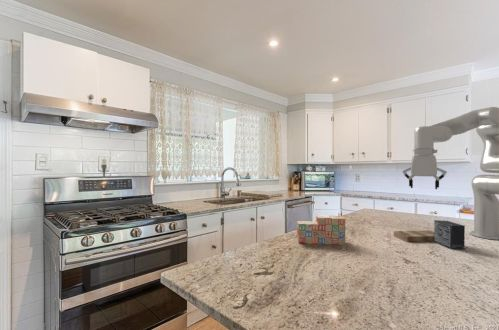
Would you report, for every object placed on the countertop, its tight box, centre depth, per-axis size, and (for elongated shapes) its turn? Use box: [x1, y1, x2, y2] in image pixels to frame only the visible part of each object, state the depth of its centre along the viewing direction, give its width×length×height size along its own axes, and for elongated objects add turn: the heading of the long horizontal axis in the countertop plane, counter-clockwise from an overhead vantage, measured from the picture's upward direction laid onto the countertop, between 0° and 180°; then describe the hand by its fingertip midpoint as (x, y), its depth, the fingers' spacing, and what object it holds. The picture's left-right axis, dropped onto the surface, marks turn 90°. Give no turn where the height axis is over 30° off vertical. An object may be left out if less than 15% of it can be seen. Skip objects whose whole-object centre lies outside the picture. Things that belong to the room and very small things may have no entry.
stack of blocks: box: [296, 214, 346, 246], centre depth 119 cm, size 21×6×12 cm, turn 85°
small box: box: [433, 219, 466, 250], centre depth 114 cm, size 11×6×10 cm, turn 179°
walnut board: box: [393, 230, 435, 243], centre depth 124 cm, size 20×10×3 cm, turn 94°
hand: (423, 188), depth 119 cm, fingers open, 9 cm apart
